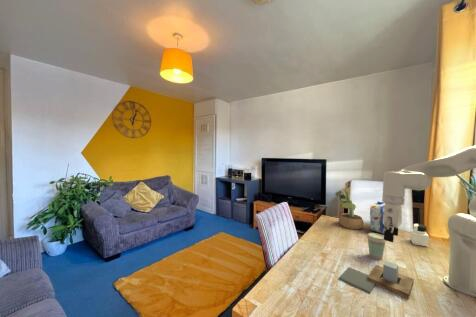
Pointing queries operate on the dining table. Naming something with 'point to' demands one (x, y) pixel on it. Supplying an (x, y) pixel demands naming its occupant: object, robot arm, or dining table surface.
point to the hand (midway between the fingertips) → (390, 237)
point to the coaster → (357, 279)
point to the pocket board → (400, 289)
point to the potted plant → (349, 219)
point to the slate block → (390, 272)
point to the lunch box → (377, 217)
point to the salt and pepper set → (419, 235)
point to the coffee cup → (376, 245)
